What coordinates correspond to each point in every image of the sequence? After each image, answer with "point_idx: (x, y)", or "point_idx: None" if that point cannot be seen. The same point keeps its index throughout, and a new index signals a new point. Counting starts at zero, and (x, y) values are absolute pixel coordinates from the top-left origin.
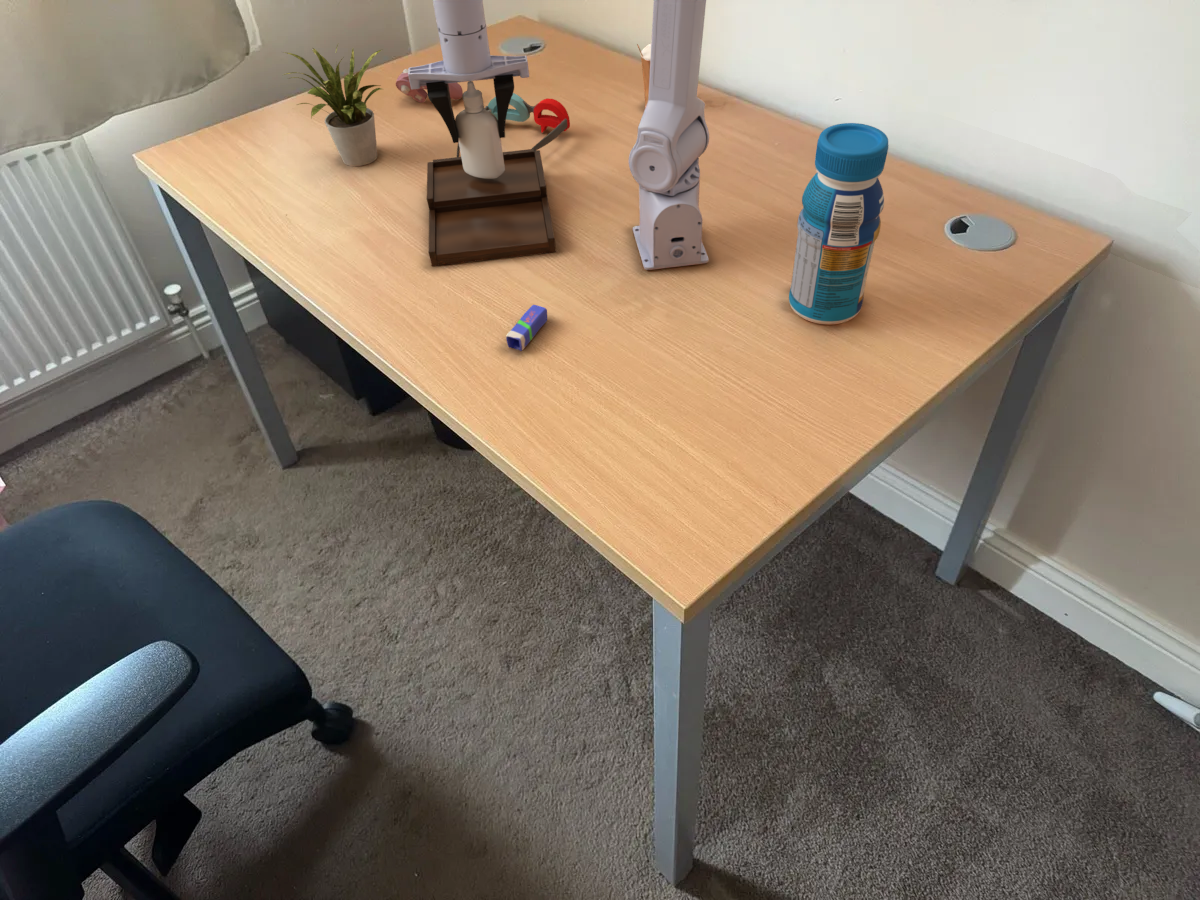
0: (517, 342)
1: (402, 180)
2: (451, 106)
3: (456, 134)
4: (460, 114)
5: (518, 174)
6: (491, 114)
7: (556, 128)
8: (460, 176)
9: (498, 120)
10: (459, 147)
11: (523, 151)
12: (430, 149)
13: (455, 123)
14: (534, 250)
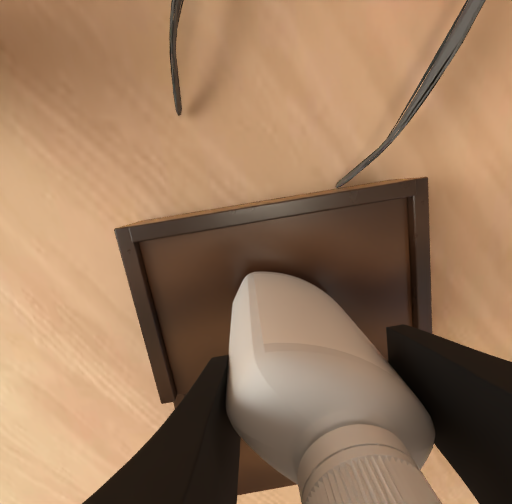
0: None
1: (56, 185)
2: (211, 472)
3: (239, 444)
4: (263, 452)
5: (364, 284)
6: (426, 449)
7: (480, 8)
8: (220, 289)
9: (446, 458)
10: (176, 67)
11: (387, 195)
12: (80, 8)
13: (225, 397)
14: None
